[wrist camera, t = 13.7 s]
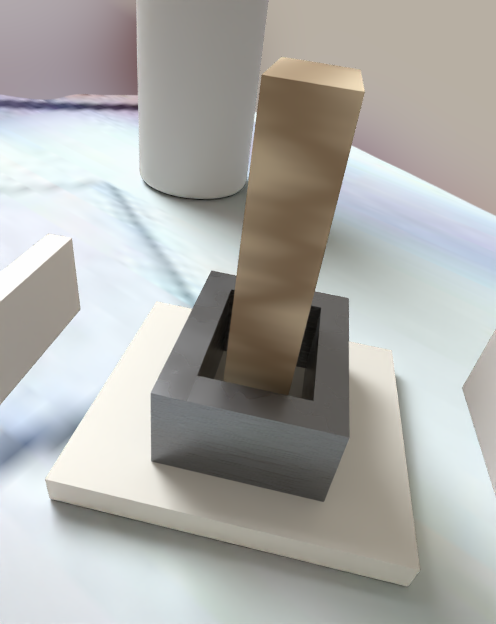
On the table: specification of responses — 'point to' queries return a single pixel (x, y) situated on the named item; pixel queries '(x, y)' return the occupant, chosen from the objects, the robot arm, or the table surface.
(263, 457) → the grey rectangular socket
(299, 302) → the ash slat
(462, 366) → the table surface
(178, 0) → the cylinder vase
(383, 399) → the base board
